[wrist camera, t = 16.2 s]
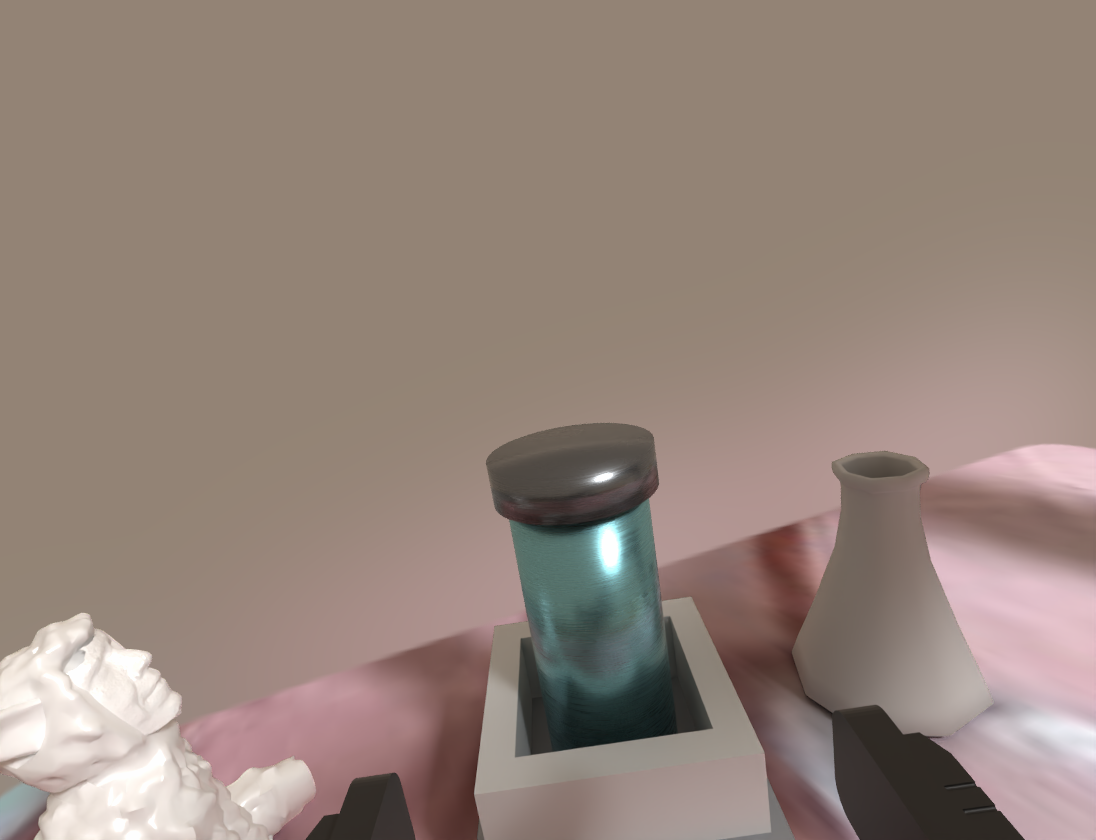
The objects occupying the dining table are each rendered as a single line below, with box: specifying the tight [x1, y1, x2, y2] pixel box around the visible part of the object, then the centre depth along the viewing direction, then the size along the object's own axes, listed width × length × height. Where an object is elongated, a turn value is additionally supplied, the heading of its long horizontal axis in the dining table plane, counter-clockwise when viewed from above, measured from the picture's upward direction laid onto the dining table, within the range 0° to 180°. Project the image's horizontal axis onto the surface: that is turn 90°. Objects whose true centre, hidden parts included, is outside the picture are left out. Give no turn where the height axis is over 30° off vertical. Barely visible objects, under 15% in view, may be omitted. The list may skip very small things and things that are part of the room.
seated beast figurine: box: [0, 613, 316, 840], centre depth 18 cm, size 10×9×12 cm
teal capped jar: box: [486, 423, 678, 752], centre depth 21 cm, size 6×6×12 cm
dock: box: [474, 597, 795, 840], centre depth 23 cm, size 10×10×4 cm
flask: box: [792, 451, 994, 736], centre depth 25 cm, size 7×7×10 cm
